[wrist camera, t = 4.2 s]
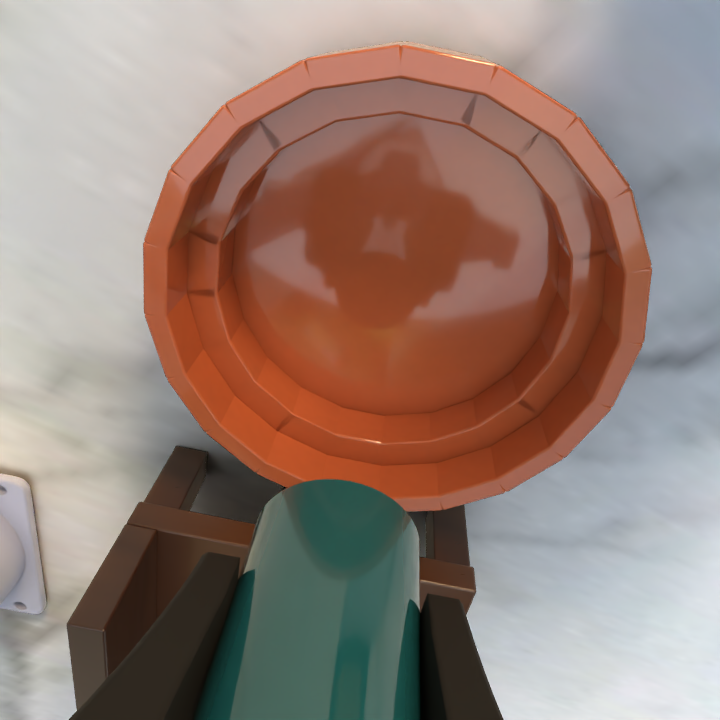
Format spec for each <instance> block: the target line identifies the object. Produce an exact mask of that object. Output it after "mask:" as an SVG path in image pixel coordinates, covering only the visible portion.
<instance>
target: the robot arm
mask: <svg viewBox="0 0 720 720" xmlns="http://www.w3.org/2000/svg"><path fill="white" fill-rule="evenodd" d="M239 565H240V557H234V556H229V555H224V554H219V553H213V552H207V553H205V554H203V555H202V556H201V558H200V560H199V561H198V563H197V565H196V566H195V568H194V569H193V571H192V572H191V574H190V575H189V577H188V578H187V580H186V581H185V582H184V584H183V585H182V587H181V588H180V589H179V591H178V592H177V594H176V595H175V596H174V598H173V599H172V600H171V602H170V603H169V604H168V606H167V607H166V608H165V610H164V611H163V612H162V614H161V615H160V616H159V617H158V619H157V620H156V621H155V622H154V624H153V625H152V626H151V627H150V628H149V630H148V631H147V632H146V633H145V635H144V636H143V637H142V638H141V639H140V641H139V642H138V643H137V644H136V646H135V647H134V648H133V649H132V651H131V652H130V653H129V654H128V655H127V656H126V658H125V659H124V660H123V661H122V662H121V663H120V664H119V665H118V667H117V668H116V669H115V670H114V671H113V672H112V673H111V674H110V675H109V677H108V678H107V679H106V680H105V681H104V682H103V683H102V684H101V685H100V687H99V688H98V689H97V690H96V691H95V692H94V693H93V694H92V696H91V697H90V698H89V699H88V700H87V701H86V702H85V703H84V704H83V705H82V706H81V707H80V708H79V709H78V710H77V711H76V713H75V714H74V715H73V716H72V717H71V718H70V719H69V720H192V717H193V714H194V711H195V708H196V705H197V702H198V699H199V696H200V693H201V690H202V687H203V684H204V681H205V678H206V675H207V672H208V668H209V665H210V662H211V659H212V656H213V653H214V650H215V647H216V644H217V641H218V638H219V636H220V633H221V630H222V627H223V624H224V621H225V618H226V615H227V612H228V609H229V606H230V603H231V599H232V596H233V593H234V590H235V587H236V584H237V581H238V575H239ZM46 605H47V601H46V594H45V587H44V580H43V573H42V566H41V559H40V552H39V545H38V538H37V531H36V524H35V517H34V510H33V503H32V496H31V489H30V486H29V484H28V483H27V482H26V481H25V480H24V479H22V478H20V477H17V476H11V475H6V474H1V473H0V608H2V609H7V610H13V611H18V612H23V613H28V614H35V615H37V614H41V613H42V612H43V610H44V609H45V607H46ZM420 647H421V720H503V717H502V715H501V713H500V710H499V708H498V705H497V703H496V700H495V698H494V695H493V693H492V690H491V687H490V685H489V682H488V679H487V677H486V674H485V671H484V668H483V666H482V663H481V660H480V657H479V654H478V651H477V649H476V646H475V643H474V640H473V637H472V633H471V630H470V627H469V624H468V621H467V617H466V614H465V610H464V607H463V604H462V603H461V601H460V600H459V599H455V598H450V597H444V596H439V595H434V594H429V593H427V596H426V599H425V601H424V604H423V607H422V610H421V613H420Z"/></svg>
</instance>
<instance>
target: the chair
mask: <svg viewBox="0 0 720 720" xmlns="http://www.w3.org/2000/svg"><path fill="white" fill-rule="evenodd" d="M206 469H207V452H204V451H199V450H194V449H188V448H183V447H178V446H176V447H175V449H174V451H173V452H172V454H171V456H170V457H169V459H168V461H167V463H166V464H165V466H164V468H163V469H162V471H161V473H160V475H159V476H158V478H157V480H156V482H155V483H154V485H153V487H152V488H151V490H150V492H149V494H148V495H147V497H146V499H145V500H144V502H139V503H138V505H137V506H136V508H135V510H134V511H133V513H132V515H131V517H130V518H129V520H128V522H127V524H126V525H125V526H124V528H123V530H122V531H121V533H120V535H119V536H118V538H117V540H116V541H115V543H114V545H113V546H112V548H111V550H110V552H109V553H108V555H107V557H106V558H105V560H104V562H103V563H102V565H101V567H100V568H99V570H98V572H97V574H96V575H95V577H94V579H93V580H92V582H91V584H90V585H89V587H88V589H87V590H86V592H85V594H84V596H83V597H82V599H81V601H80V602H79V604H78V606H77V607H76V609H75V611H74V612H73V614H72V616H71V617H70V619H69V621H68V623H67V631H68V639H69V648H70V656H71V665H72V673H73V681H74V690H75V698H76V707H77V710H78V709H79V708H80V707H81V706H82V705H83V704H84V703H85V702H86V701H87V700H88V699H89V698H90V697H91V696H92V694H93V693H94V692H95V691H96V690H97V689H98V688H99V687H100V685H101V684H102V683H103V682H104V681H105V680H106V679H107V678H108V677H109V675H110V674H111V673H112V672H113V671H114V670H115V669H116V668H117V667H118V665H119V664H120V663H121V662H122V661H123V660H124V659H125V658H126V656H127V655H128V654H129V653H130V652H131V651H132V649H133V648H134V647H135V646H136V644H137V643H138V642H139V641H140V639H141V638H142V637H143V636H144V635H145V633H146V632H147V631H148V630H149V628H150V627H151V626H152V625H153V624H154V622H155V621H156V620H157V619H158V617H159V616H160V615H161V614H162V612H163V611H164V610H165V608H166V607H167V606H168V604H169V603H170V602H171V600H172V599H173V598H174V596H175V595H176V594H177V592H178V591H179V589H180V588H181V587H182V585H183V584H184V582H185V581H186V580H187V578H188V577H189V575H190V574H191V572H192V571H193V569H194V568H195V566H196V565H197V563H198V561H199V560H200V558H201V556H202V555H203V554H205V553H207V552H213V553H219V554H224V555H229V556H234V557H240V565H239V574H240V571H241V568H242V564H243V561H244V558H245V555H246V552H247V549H248V546H249V543H250V540H251V537H252V534H253V531H254V528H255V525H256V524H252V523H247V522H242V521H237V520H232V519H227V518H222V517H216V516H211V515H206V514H201V513H196V512H191V511H190V509H191V507H192V504H193V502H194V500H195V498H196V496H197V494H198V492H199V490H200V488H201V486H202V483H203V481H204V479H205V477H206ZM425 522H426V558H424V557H420V613H421V610H422V607H423V604H424V601H425V599H426V596H427V593H429V594H434V595H439V596H444V597H450V598H455V599H459V600H460V601H461V603H462V604H463V607H464V610H465V614H467V612H468V610H469V607H470V605H471V603H472V600H473V598H474V596H475V593H476V584H475V574H474V568H473V567H470V561H469V551H468V540H467V529H466V519H465V508H464V505H460V506H457V507H453V508H450V509H446V510H443V509H442V510H440V511H428V513H427V516H426V519H425ZM238 577H239V575H238Z"/></svg>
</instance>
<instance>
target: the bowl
mask: <svg viewBox="0 0 720 720" xmlns="http://www.w3.org/2000/svg"><path fill="white" fill-rule="evenodd" d="M143 258H144V314H145V318H146V321H147V324H148V327H149V329H150V332H151V335H152V338H153V341H154V344H155V347H156V350H157V353H158V356H159V358H160V361H161V364H162V367H163V370H164V373H165V376H166V378H168V379H167V380H168V382H169V383H170V385H171V386H172V387H173V389H174V390H175V392H176V393H177V394H178V396H179V397H180V398H181V400H182V401H183V403H184V404H185V405H186V407H187V408H188V410H189V411H190V412H191V414H192V415H193V416H194V418H195V419H196V421H197V422H198V423H199V425H200V426H201V428H202V429H203V430H204V431H205V432H206V433H207V434H208V435H209V436H210V437H211V438H213V439H214V440H215V441H216V442H218V443H219V444H220V445H221V446H223V447H224V448H225V449H226V450H227V451H229V452H230V453H231V454H232V455H234V456H235V457H236V458H237V459H239V460H240V461H241V462H242V463H244V464H245V465H246V466H247V467H249V468H250V469H251V470H252V471H254V472H257V474H258V475H260V476H262V477H264V478H267V479H269V480H271V481H273V482H275V483H278V484H280V485H282V486H284V487H286V488H288V487H290V486H293V485H295V484H298V483H302V482H305V481H311V480H317V479H341V480H348V481H353V482H357V483H361V484H364V485H367V486H370V487H372V488H375V489H377V490H379V491H381V492H383V493H384V494H386V495H388V496H389V497H391V498H392V499H393V500H395V501H396V502H397V503H398V504H400V506H401V507H402V508H403V509H404V510H405V511H406V512H415V511H440V510H442V509H443V510H446V509H450V508H453V507H457V506H460V505H464V504H467V503H471V502H474V501H478V500H481V499H485V498H488V497H492V496H496V495H499V494H503V493H505V491H506V492H507V491H510V490H511V489H513V488H515V487H516V486H518V485H520V484H521V483H523V482H525V481H527V480H528V479H530V478H532V477H533V476H535V475H537V474H539V473H540V472H542V471H544V470H545V469H547V468H549V467H550V466H552V465H554V464H556V463H557V462H559V461H561V460H562V459H563V458H565V457H566V456H567V455H568V454H569V453H570V452H571V451H572V450H573V449H574V448H575V447H576V446H577V445H578V444H579V443H580V442H581V441H582V440H583V438H584V437H585V436H586V435H587V434H588V433H589V432H590V431H591V430H592V429H593V428H594V427H595V426H596V425H597V424H598V423H599V422H600V421H601V420H602V419H603V418H604V417H605V415H606V414H607V413H608V412H609V411H610V410H611V407H613V405H614V403H615V401H616V399H617V397H618V395H619V393H620V391H621V389H622V387H623V385H624V383H625V381H626V379H627V377H628V375H629V372H630V370H631V368H632V366H633V364H634V362H635V360H636V358H637V356H638V354H639V352H640V350H641V348H642V345H643V342H644V338H645V329H646V320H647V311H648V302H649V293H650V284H651V275H652V268H651V260H650V256H649V253H648V249H647V245H646V241H645V237H644V233H643V230H642V226H641V222H640V218H639V214H638V211H637V207H636V203H635V199H634V195H633V191H632V190H631V189H630V185H629V183H628V182H627V181H626V179H625V178H624V176H623V175H622V174H621V172H620V171H619V170H618V168H617V167H616V166H615V164H614V163H613V161H612V160H611V159H610V157H609V156H608V155H607V153H606V152H605V151H604V149H603V148H602V146H601V145H600V144H599V142H598V141H597V140H596V138H595V137H594V136H593V134H592V133H591V131H590V130H589V129H588V127H587V126H586V125H585V123H584V122H583V120H582V119H581V118H580V117H578V116H577V115H576V113H574V112H573V111H571V110H570V109H568V108H567V107H565V106H563V105H562V104H560V103H559V102H557V101H556V100H554V99H552V98H551V97H549V96H548V95H546V94H545V93H543V92H541V91H540V90H538V89H537V88H535V87H534V86H532V85H530V84H529V83H527V82H526V81H524V80H523V79H521V78H519V77H518V76H516V75H515V74H513V73H512V72H510V71H508V70H507V69H505V68H504V67H502V66H500V65H498V64H496V63H494V62H492V61H490V60H487V59H485V58H483V57H481V56H476V55H471V54H466V53H461V52H457V51H452V50H447V49H442V48H437V47H433V46H428V45H423V44H418V43H413V42H409V41H406V42H403V41H399V42H392V43H386V44H379V45H372V46H366V47H359V48H353V49H346V50H340V51H333V52H327V53H323V54H320V55H316V56H312V57H309V58H306V59H304V60H301V61H299V62H297V63H295V64H293V65H292V66H290V67H288V68H286V69H284V70H283V71H281V72H279V73H277V74H275V75H274V76H272V77H270V78H268V79H267V80H265V81H263V82H261V83H259V84H258V85H256V86H254V87H252V88H250V89H249V90H247V91H245V92H243V93H241V94H240V95H238V96H236V97H234V98H232V99H231V100H229V101H227V102H226V104H225V105H223V106H221V107H220V109H219V110H218V111H217V112H216V113H215V114H214V116H213V117H212V118H211V119H210V120H209V122H208V123H207V124H206V125H205V126H204V128H203V129H202V130H201V131H200V132H199V133H198V135H197V136H196V137H195V138H194V139H193V141H192V142H191V143H190V144H189V145H188V147H187V148H186V149H185V150H184V151H183V152H182V154H181V155H180V156H179V157H178V158H177V160H176V161H175V162H174V163H173V164H172V166H171V169H170V170H169V171H168V174H167V176H166V179H165V182H164V185H163V188H162V191H161V193H160V196H159V199H158V202H157V205H156V208H155V210H154V213H153V216H152V219H151V222H150V225H149V227H148V230H147V233H146V236H145V242H144V243H143Z"/></svg>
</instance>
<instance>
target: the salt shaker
mask: <svg viewBox="0 0 720 720" xmlns="http://www.w3.org/2000/svg"><path fill="white" fill-rule="evenodd" d="M192 720H421V647H420V540H419V534H418V531H417V528H416V526H415V524H414V522H413V520H412V519H411V517H410V516H409V515H408V513H407V512H406V511H405V510H404V509H403V508H402V507H401V506H400V504H398V503H397V502H396V501H395V500H393V499H392V498H391V497H389V496H388V495H386V494H384V493H383V492H381V491H379V490H377V489H375V488H372V487H370V486H367V485H364V484H361V483H357V482H353V481H348V480H341V479H317V480H311V481H305V482H302V483H298V484H295V485H293V486H290V487H288V488H286V489H284V490H283V491H281V492H279V493H278V494H277V495H275V496H274V497H273V498H272V499H270V500H269V502H268V503H267V504H266V505H265V506H264V507H263V509H262V511H261V512H260V514H259V516H258V519H257V522H256V525H255V528H254V531H253V534H252V537H251V540H250V543H249V546H248V549H247V552H246V555H245V558H244V561H243V564H242V568H241V571H240V574H239V577H238V581H237V584H236V587H235V590H234V593H233V596H232V599H231V603H230V606H229V609H228V612H227V615H226V618H225V621H224V624H223V627H222V630H221V633H220V636H219V638H218V641H217V644H216V647H215V650H214V653H213V656H212V659H211V662H210V665H209V668H208V672H207V675H206V678H205V681H204V684H203V687H202V690H201V693H200V696H199V699H198V702H197V705H196V708H195V711H194V714H193V717H192Z"/></svg>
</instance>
